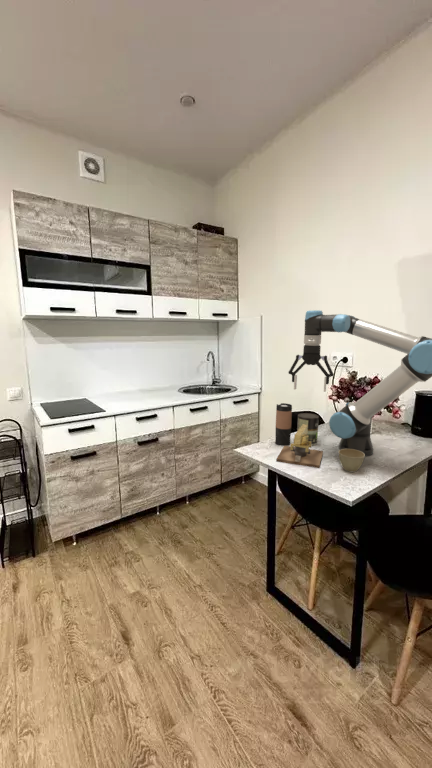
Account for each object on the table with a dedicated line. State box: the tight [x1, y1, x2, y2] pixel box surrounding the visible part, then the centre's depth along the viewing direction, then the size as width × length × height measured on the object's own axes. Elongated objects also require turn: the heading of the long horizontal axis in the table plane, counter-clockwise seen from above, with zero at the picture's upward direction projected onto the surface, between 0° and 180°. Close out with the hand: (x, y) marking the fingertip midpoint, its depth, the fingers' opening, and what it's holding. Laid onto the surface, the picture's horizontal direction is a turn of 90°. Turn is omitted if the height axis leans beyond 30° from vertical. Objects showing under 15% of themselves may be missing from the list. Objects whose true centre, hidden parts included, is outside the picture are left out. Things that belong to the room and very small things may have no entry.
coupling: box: [289, 424, 312, 452], centre depth 148 cm, size 18×8×9 cm, turn 155°
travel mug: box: [275, 403, 293, 447], centre depth 166 cm, size 8×8×20 cm
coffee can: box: [296, 412, 320, 447], centre depth 169 cm, size 10×10×14 cm
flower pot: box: [338, 449, 366, 473], centre depth 137 cm, size 10×10×7 cm
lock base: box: [275, 445, 324, 469], centre depth 149 cm, size 18×18×6 cm
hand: (309, 390), depth 156 cm, fingers open, 13 cm apart
